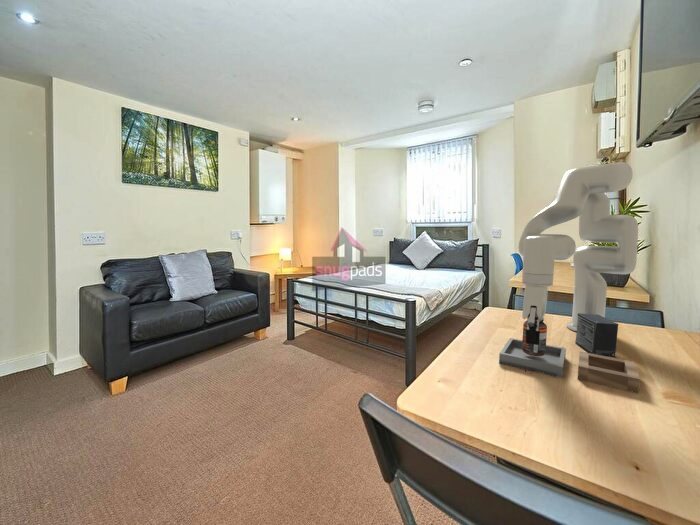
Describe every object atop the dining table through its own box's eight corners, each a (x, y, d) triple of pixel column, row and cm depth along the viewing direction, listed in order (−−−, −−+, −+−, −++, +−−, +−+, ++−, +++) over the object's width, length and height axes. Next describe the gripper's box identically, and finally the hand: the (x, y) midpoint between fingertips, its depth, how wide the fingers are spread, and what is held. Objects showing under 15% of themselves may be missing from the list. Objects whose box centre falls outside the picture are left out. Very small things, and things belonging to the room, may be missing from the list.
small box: (617, 357, 91) (620, 323, 89) (592, 356, 92) (595, 322, 91) (596, 344, 101) (599, 313, 100) (574, 343, 102) (576, 312, 101)
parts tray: (509, 346, 100) (510, 337, 100) (565, 358, 91) (565, 348, 91) (499, 363, 88) (499, 353, 88) (561, 378, 79) (562, 367, 79)
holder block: (578, 363, 88) (579, 351, 87) (633, 374, 81) (634, 361, 80) (577, 379, 79) (578, 366, 78) (638, 393, 72) (639, 379, 71)
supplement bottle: (517, 349, 92) (519, 312, 91) (535, 348, 93) (537, 312, 91) (530, 357, 86) (532, 318, 85) (550, 356, 87) (552, 318, 85)
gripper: (527, 274, 96) (524, 329, 98) (516, 282, 82) (514, 346, 85) (555, 276, 91) (552, 334, 93) (549, 285, 78) (546, 353, 80)
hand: (534, 339), depth 89 cm, fingers closed on supplement bottle, 6 cm apart
